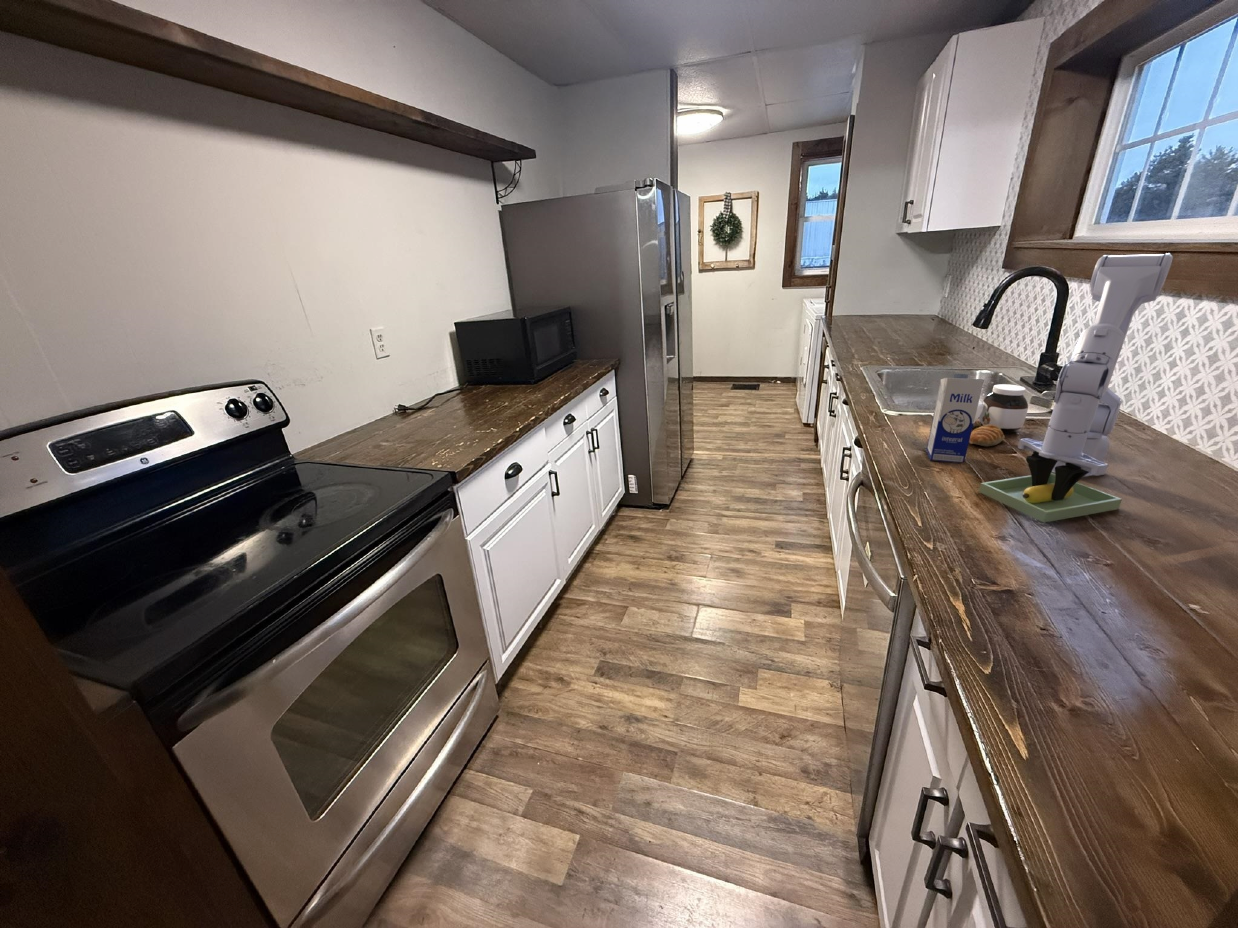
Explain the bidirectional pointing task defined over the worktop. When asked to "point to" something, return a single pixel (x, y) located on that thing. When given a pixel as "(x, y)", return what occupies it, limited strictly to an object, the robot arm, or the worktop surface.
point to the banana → (1041, 493)
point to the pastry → (986, 435)
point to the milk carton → (954, 418)
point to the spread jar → (1003, 408)
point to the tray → (1073, 506)
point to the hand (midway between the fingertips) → (1047, 495)
